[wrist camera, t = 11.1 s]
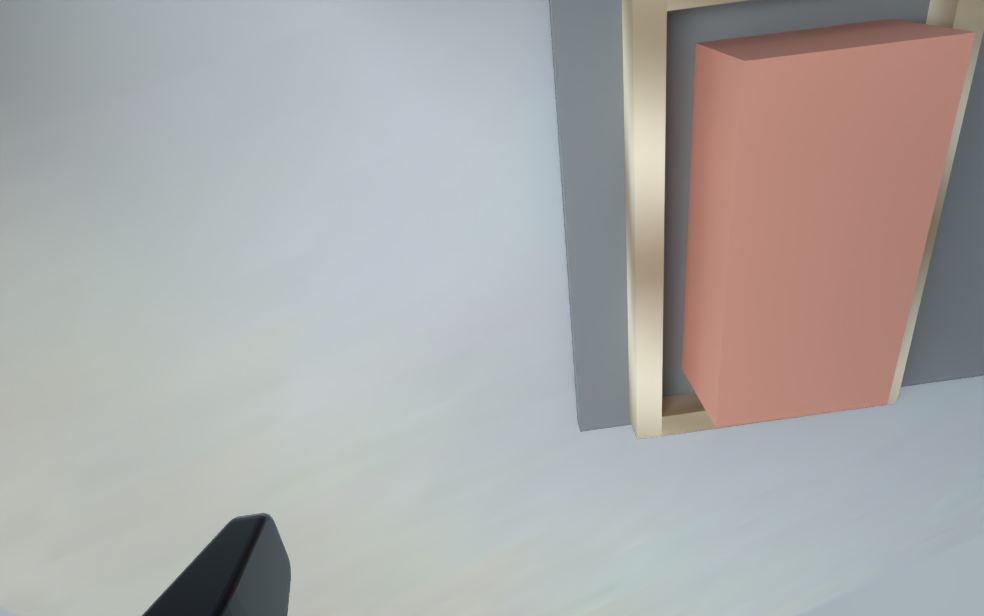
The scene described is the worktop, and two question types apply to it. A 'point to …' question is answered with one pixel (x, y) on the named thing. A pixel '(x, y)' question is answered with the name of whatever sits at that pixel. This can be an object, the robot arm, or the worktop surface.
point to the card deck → (812, 211)
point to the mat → (602, 201)
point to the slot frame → (953, 4)
